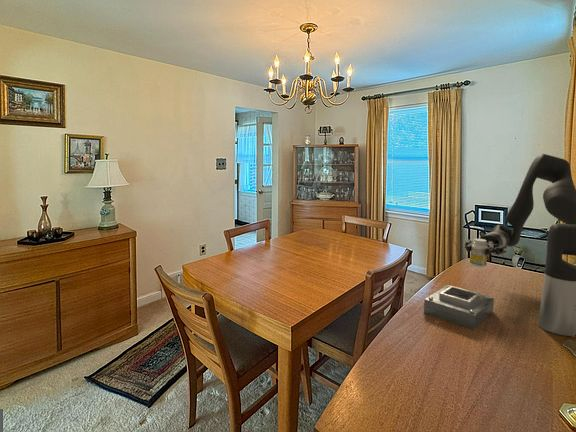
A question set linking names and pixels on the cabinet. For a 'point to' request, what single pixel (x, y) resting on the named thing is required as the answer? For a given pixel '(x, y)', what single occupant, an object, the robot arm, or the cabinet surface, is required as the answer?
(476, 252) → the supplement bottle
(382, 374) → the cabinet surface
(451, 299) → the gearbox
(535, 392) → the cabinet surface
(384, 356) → the cabinet surface
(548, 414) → the cabinet surface
